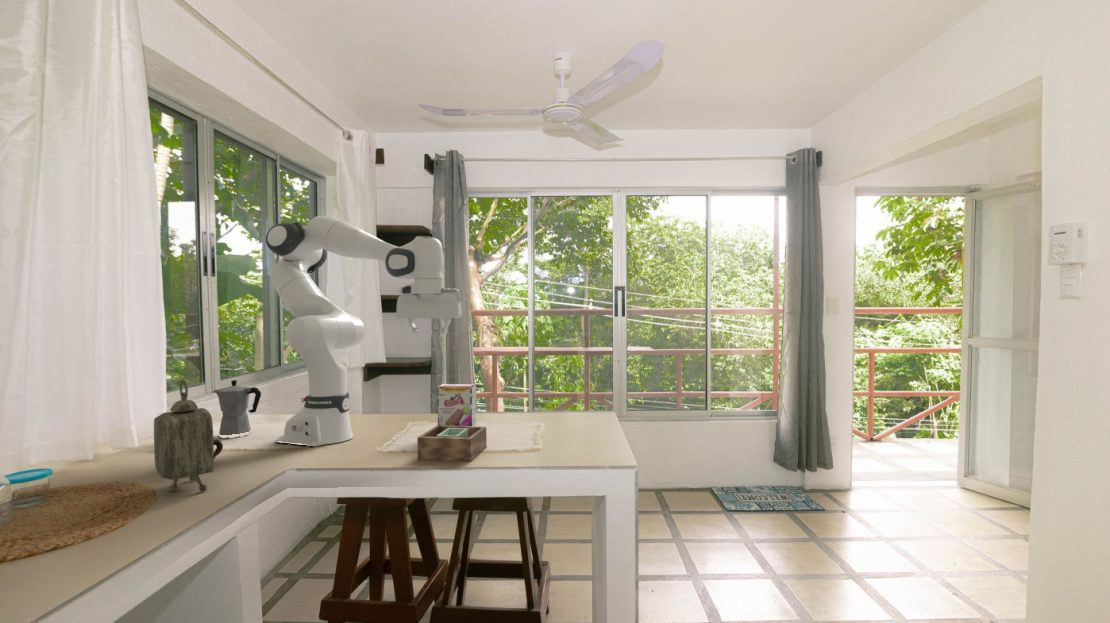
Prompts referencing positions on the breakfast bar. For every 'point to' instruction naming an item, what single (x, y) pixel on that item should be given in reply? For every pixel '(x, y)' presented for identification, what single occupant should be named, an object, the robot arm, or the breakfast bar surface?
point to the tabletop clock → (184, 442)
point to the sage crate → (454, 433)
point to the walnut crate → (451, 444)
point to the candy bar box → (456, 405)
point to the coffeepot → (236, 408)
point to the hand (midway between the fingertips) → (429, 333)
